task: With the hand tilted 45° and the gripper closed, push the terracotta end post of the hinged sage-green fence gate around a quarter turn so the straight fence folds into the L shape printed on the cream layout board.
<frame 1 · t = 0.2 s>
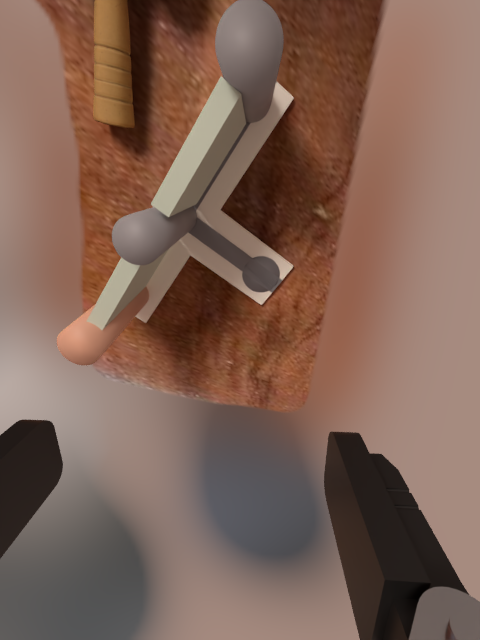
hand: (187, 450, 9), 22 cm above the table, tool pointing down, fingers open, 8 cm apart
layout board: (182, 216, 27), on the table
gate: (126, 289, 24), point 6 cm above the table, hinge at 0.0°
fence fixed: (203, 159, 20), on the layout board
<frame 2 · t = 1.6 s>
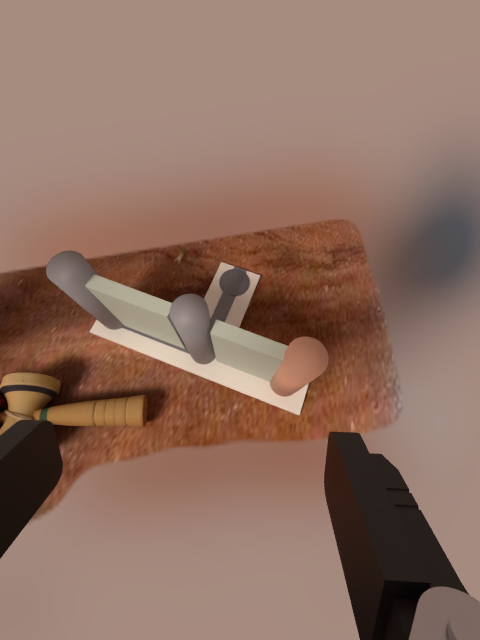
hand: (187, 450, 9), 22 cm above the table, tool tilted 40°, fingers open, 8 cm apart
kendama: (61, 415, 30), on the table
layout board: (204, 352, 32), on the table
gate: (262, 359, 26), point 6 cm above the table, hinge at 0.0°
fence fixed: (144, 315, 27), on the layout board
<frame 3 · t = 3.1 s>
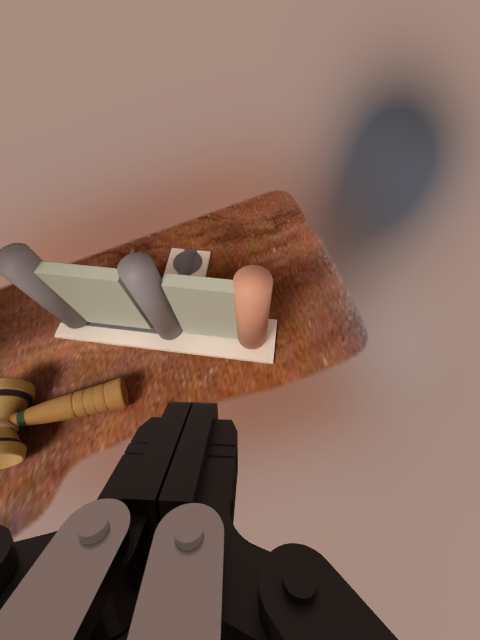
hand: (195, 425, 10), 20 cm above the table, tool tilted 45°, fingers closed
kendama: (42, 421, 30), on the table
layout board: (171, 330, 33), on the table
gate: (221, 310, 27), point 6 cm above the table, hinge at 0.0°
fence fixed: (101, 297, 28), on the layout board
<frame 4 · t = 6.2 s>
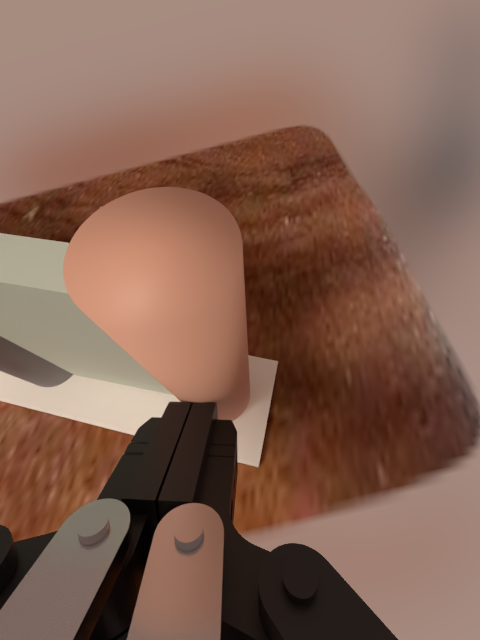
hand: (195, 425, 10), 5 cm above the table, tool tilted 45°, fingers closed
layout board: (59, 363, 16), on the table
gate: (120, 339, 10), point 6 cm above the table, hinge at 1.5°, touching gripper
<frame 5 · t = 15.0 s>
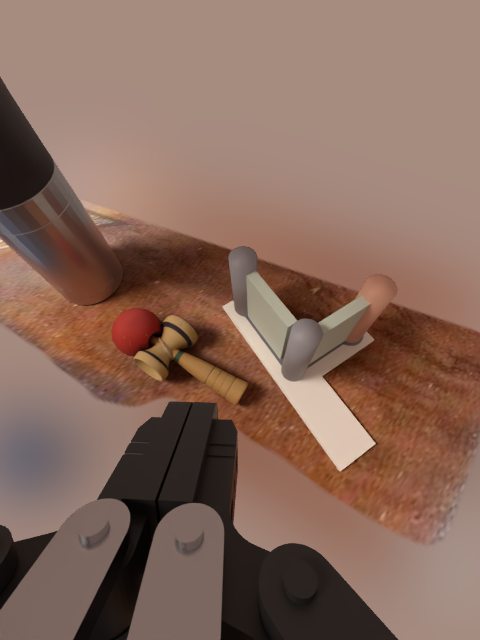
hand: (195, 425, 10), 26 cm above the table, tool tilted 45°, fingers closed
kendama: (184, 362, 38), on the table
layout board: (292, 371, 37), on the table
gate: (343, 325, 33), point 6 cm above the table, hinge at 89.7°
fence fixed: (269, 317, 34), on the layout board
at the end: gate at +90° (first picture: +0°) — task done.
